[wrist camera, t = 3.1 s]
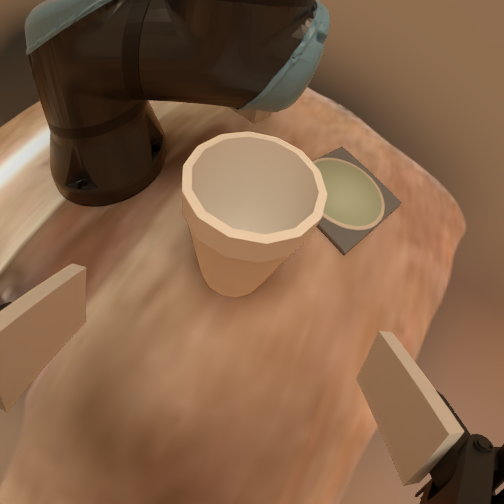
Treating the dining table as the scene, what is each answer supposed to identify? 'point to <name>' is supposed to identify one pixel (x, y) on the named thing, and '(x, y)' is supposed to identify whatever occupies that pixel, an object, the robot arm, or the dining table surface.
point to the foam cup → (248, 207)
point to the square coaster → (351, 199)
